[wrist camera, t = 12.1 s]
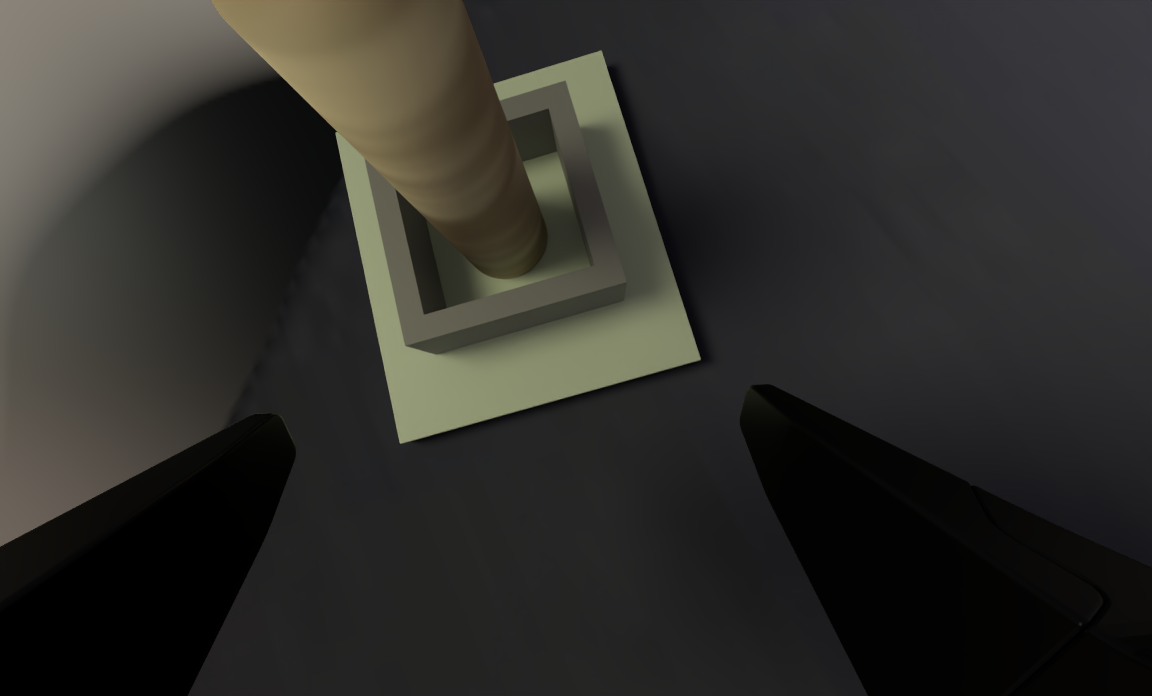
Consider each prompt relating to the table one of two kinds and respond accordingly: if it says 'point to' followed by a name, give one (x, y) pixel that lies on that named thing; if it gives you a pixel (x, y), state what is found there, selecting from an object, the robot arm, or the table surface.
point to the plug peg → (410, 111)
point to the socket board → (537, 298)
